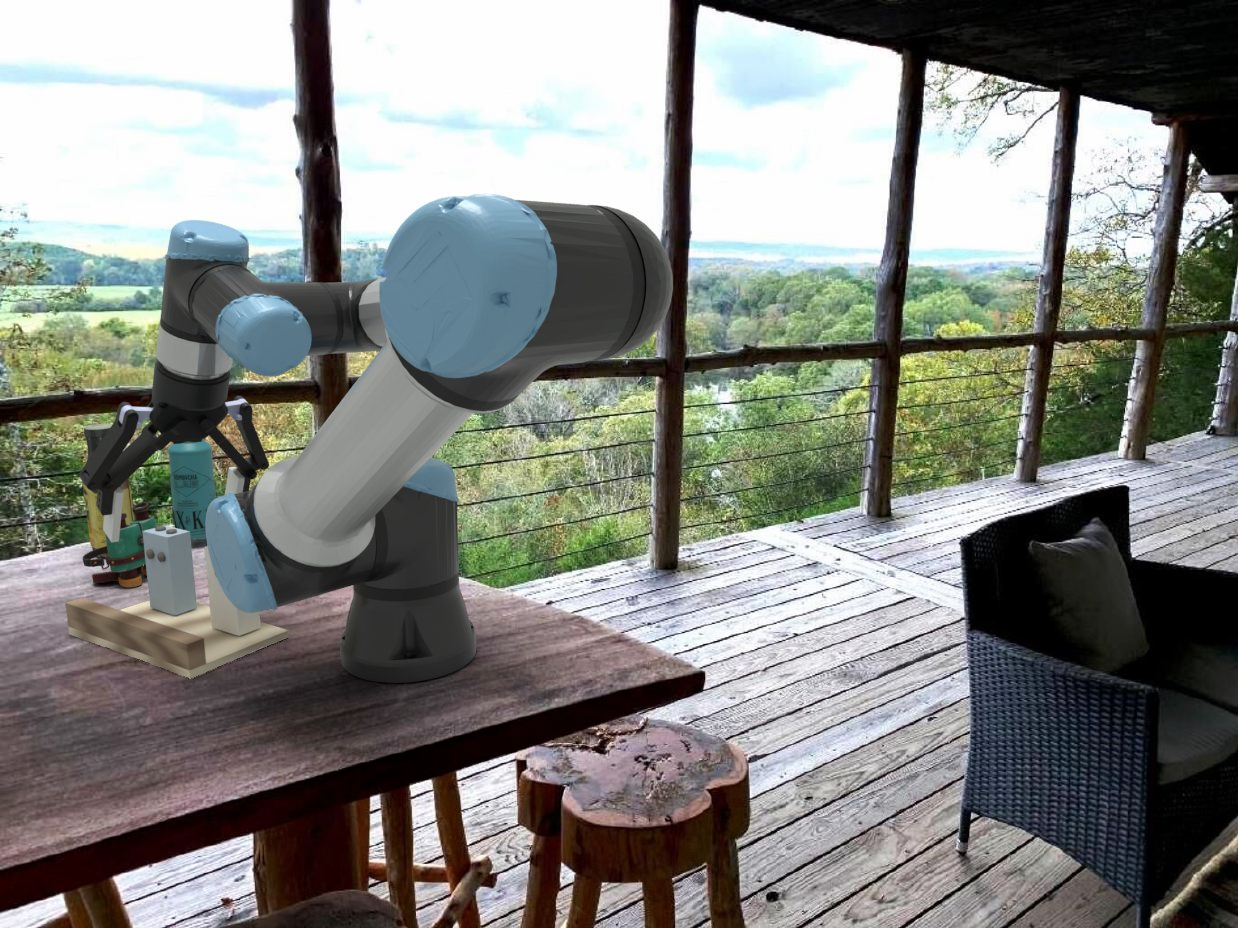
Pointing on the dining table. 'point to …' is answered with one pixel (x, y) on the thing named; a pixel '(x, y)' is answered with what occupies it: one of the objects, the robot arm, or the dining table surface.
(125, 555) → the binoculars
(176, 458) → the beverage bottle
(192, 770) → the dining table surface
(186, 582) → the tile two
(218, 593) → the tile one
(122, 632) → the holder
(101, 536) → the sauce bottle
